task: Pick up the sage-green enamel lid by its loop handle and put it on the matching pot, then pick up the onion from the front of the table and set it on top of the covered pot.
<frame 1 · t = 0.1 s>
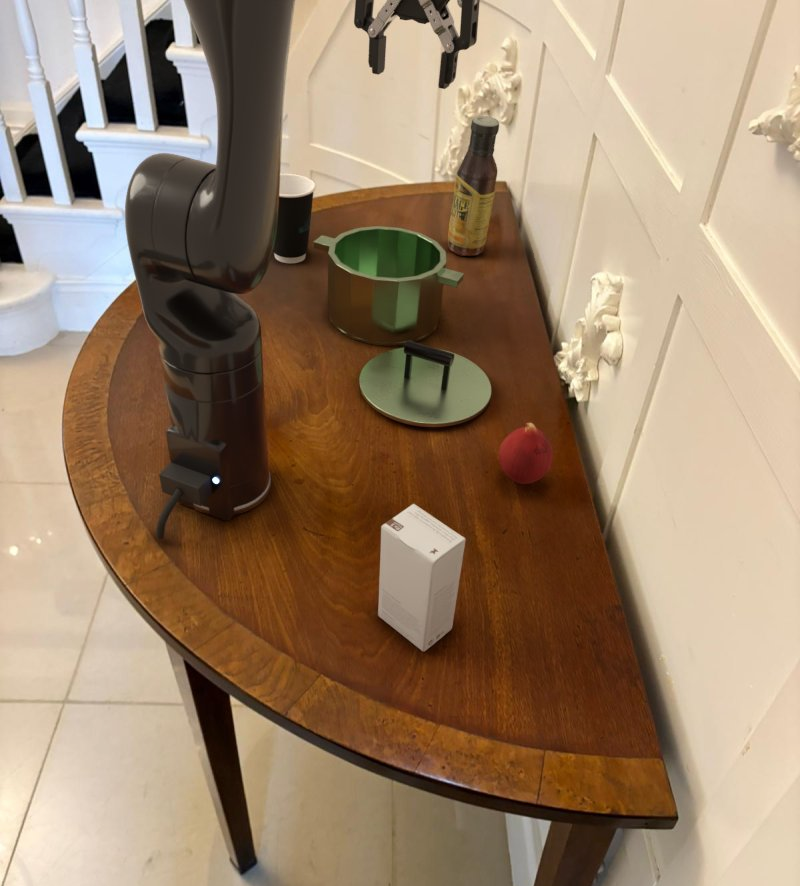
hand: (411, 79, 93), 29 cm above the table, tool pointing down, fingers open, 8 cm apart
lid: (425, 386, 99), point 1 cm above the table
pot: (383, 316, 111), on the table
cosmetic box: (412, 624, 73), on the table
onion: (519, 482, 88), on the table
dixie cup: (290, 257, 122), on the table
sauce bottle: (465, 251, 128), on the table
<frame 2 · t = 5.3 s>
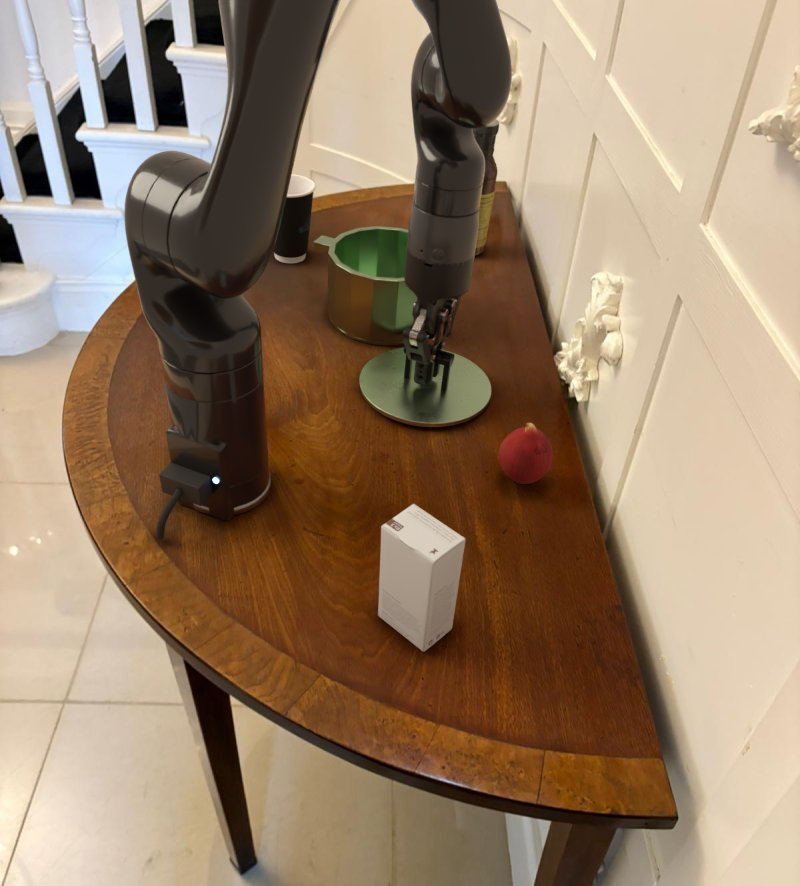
hand: (426, 378, 98), 2 cm above the table, tool pointing down, fingers closed on lid
lid: (425, 386, 99), point 1 cm above the table, touching gripper
everything else where it was.
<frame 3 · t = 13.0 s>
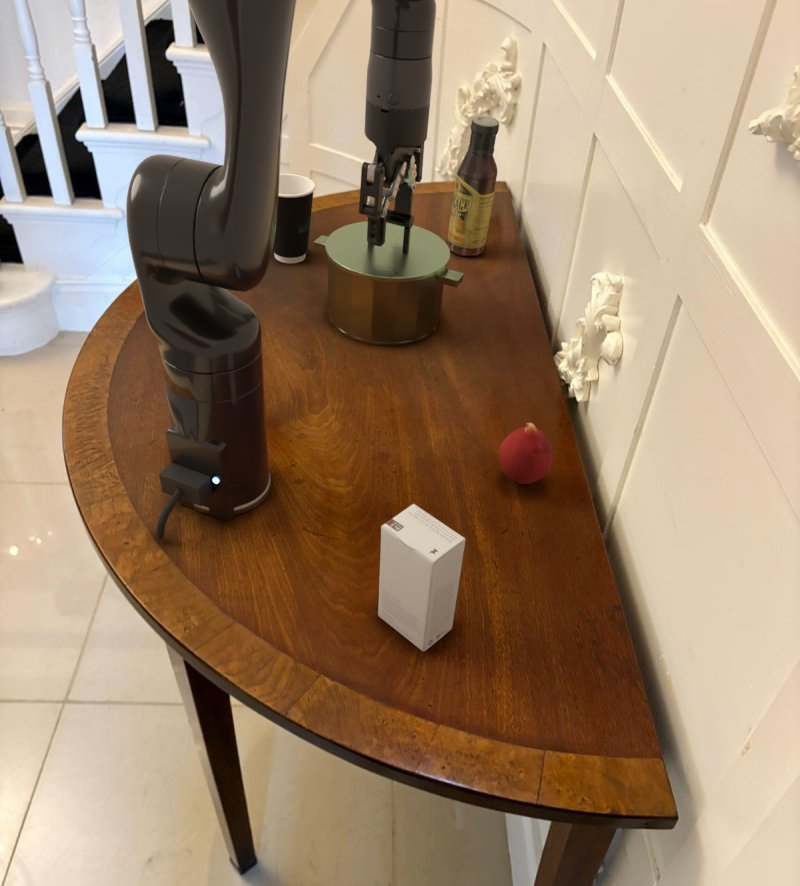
hand: (389, 231, 103), 12 cm above the table, tool pointing down, fingers open, 8 cm apart
lid: (387, 252, 105), point 9 cm above the table, touching pot
everything else where it was.
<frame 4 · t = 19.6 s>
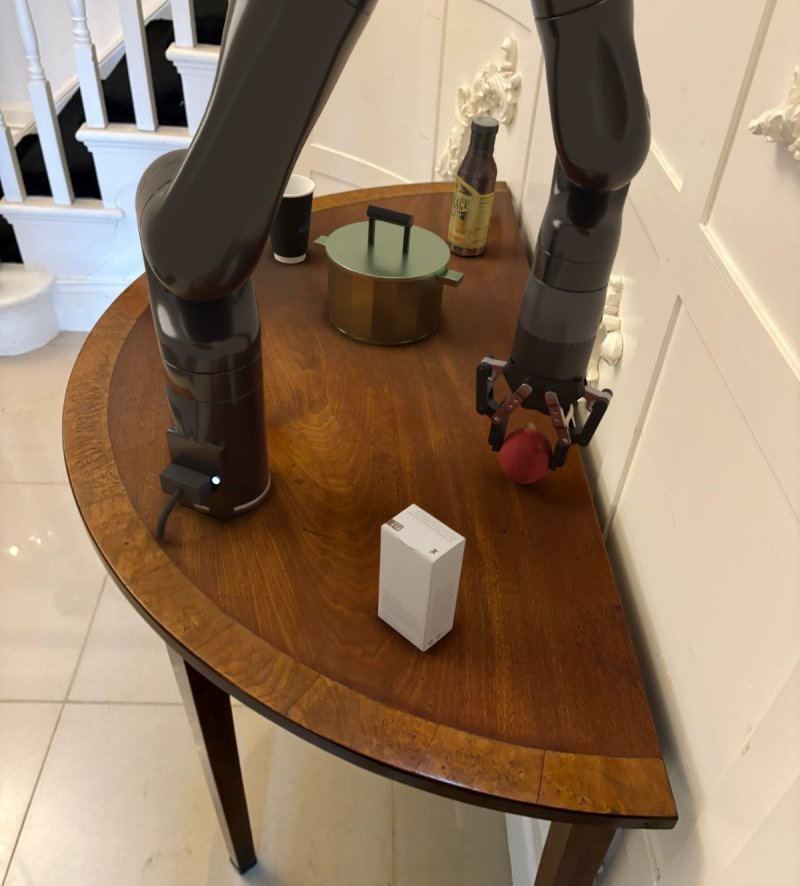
hand: (525, 456, 86), 4 cm above the table, tool pointing down, fingers closed on onion, 6 cm apart
onion: (519, 482, 88), on the table, touching gripper
everything else where it was.
when the fingers open (14 cm above the table, at t = 27.9 s): onion stays where it is, resting on lid.
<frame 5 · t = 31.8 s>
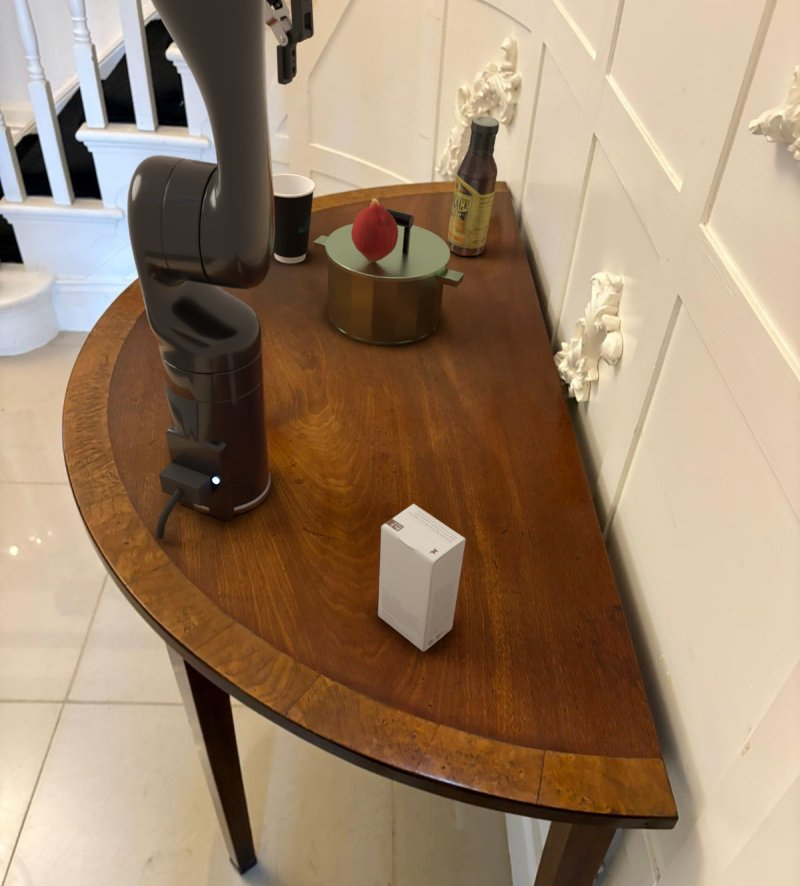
hand: (251, 75, 87), 30 cm above the table, tool pointing down, fingers open, 8 cm apart
lid: (387, 252, 105), point 9 cm above the table, touching onion, pot
onion: (373, 263, 101), point 10 cm above the table, touching lid
everything else where it was.
at the end: lid 0.0 cm off-centre on the pot, point 9.5 cm above the pot's base; lid tilted 0°; onion inside the target area on the pot (4.6 cm from its centre), point 9.9 cm above the pot's base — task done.
